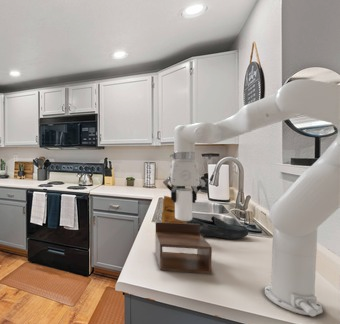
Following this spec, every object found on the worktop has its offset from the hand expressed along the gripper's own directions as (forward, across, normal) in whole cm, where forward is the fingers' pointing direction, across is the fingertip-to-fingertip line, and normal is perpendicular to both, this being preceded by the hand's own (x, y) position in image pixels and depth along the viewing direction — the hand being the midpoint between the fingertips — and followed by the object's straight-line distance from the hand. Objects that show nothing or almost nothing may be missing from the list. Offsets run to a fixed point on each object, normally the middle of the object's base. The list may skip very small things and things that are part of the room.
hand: (183, 201), depth 88 cm
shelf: (+25, -1, 0) cm, 25 cm away
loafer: (+25, +24, +33) cm, 48 cm away
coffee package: (+25, +1, +25) cm, 35 cm away
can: (+7, 0, 0) cm, 7 cm away
